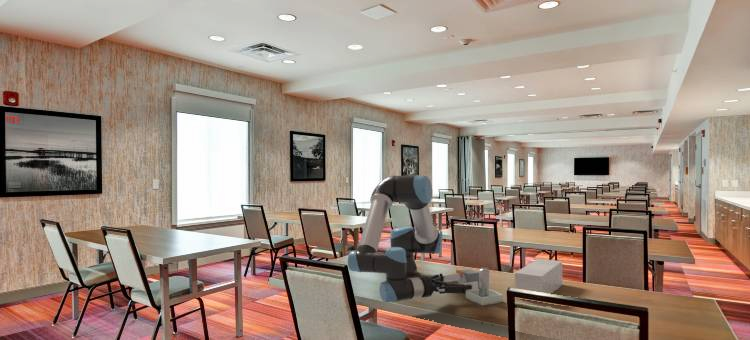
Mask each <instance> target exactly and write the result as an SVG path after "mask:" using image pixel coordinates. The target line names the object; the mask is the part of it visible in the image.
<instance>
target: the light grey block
mask: <svg viewBox="0 0 750 340" xmlns="http://www.w3.org/2000/svg"><path fill="white" fill-rule="evenodd" d="M562 285H563V261H562V260H553V259H544V258H536V259H535V260H533V261H532V262H530V263H529V264H527V265H525V266H523V267H522V268H520V269H519V270H517V271H515V272H514V289H515V288H519V289H525V290H531V291H537V292H546V293H553V292H554V291H555V290H556V291H557V290H558V289H559V288H561V286H562ZM556 291H555V292H556ZM555 292H554V293H555ZM554 293H553V294H554Z"/></svg>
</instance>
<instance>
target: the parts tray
mask: <svg viewBox="0 0 750 340" xmlns="http://www.w3.org/2000/svg"><path fill="white" fill-rule="evenodd" d="M465 299H466V300H468V301H470V302H473V303H475V304H477V305H478V306H480V307H481V306H488V305H494V304H500V302H501V303H504V294H502V293H500V292H497V291H495V290H493V289H490V288H489V296H487V297H480V296H479V289H477V290H470V291H466V293H465Z"/></svg>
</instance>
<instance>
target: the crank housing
mask: <svg viewBox="0 0 750 340" xmlns="http://www.w3.org/2000/svg"><path fill="white" fill-rule="evenodd" d="M455 274H458V281H457V284H462V283H469V282H476V281H477V282H478V289H479V271H476V270H474V269H470V268H469V269H461V270H460V269H456V270H455ZM474 290H477V289H474ZM468 291H470V290H468Z"/></svg>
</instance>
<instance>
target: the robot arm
mask: <svg viewBox="0 0 750 340" xmlns="http://www.w3.org/2000/svg"><path fill="white" fill-rule="evenodd" d="M432 187H433V185H432V182H431V180H430V178H429V176H426V175H419V174H416V175H413V174H412V175H391V176H388V177H385V179H382V180H381V181H380V182H379V183H378V184H377V185H376V186H375V188H374V190H373V191H372V194H371V196H370V199H369V201H370V207H369V210H368V214H367V216H366V221H365V223H364V227H363V230H362V233H361V237H360V240H359V243H358V247H357V250H354V251H350V252H349V254H348V255H347V267H348V270H350V271H351V272H357V273H375V274H385V276H386V277H385V280H384V281H382V282H381V283H380V285H379V295H380V298H381V300H382V301H383V302H385V303H396V302H402V301H408V300H412V301H415V299H419V298H430V297H431V296H432V295H433V293H434V292H435V293H439V294H440V295H441V294H466V291H468V290H474V289H478V282H477V281H476V282H469V283H462V284H458V283H451V282H458V273H452V274H450V273H449V274H444V275H443V273H439V274H437V273H436V274H433V275H431V276H419V277H418V276H417V277H411V278H410V276H415V275H417V274H418V267H417V264H416V261H415V257H414V254H425V255H427V254H428V255H429V254H431V255H439V254H440V253H441V252H442V247H443V231H442V230H440V229H438V228H437V227H436V226H435V225H434V223H433V219H432V214H431V211H430V207H429V203H431V202H432V199H433V188H432ZM393 203H404V206H405V207H406V208H407V209H409V211H410V215H411V218H412V221H413V225H414V227H415V229H414V227H413V226H402V227H396V228H393V229H391V231H390V238H389V239H390V247H387V248H386V249H385V252H378V249H379V248H378V247H379V244H380V240H381V237H382V233H383V230H384V226H385V223H386V219H387V215H388V212H389V209H390V208H391V207H392V206H393ZM407 277H409V278H407ZM449 282H450V283H449Z"/></svg>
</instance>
